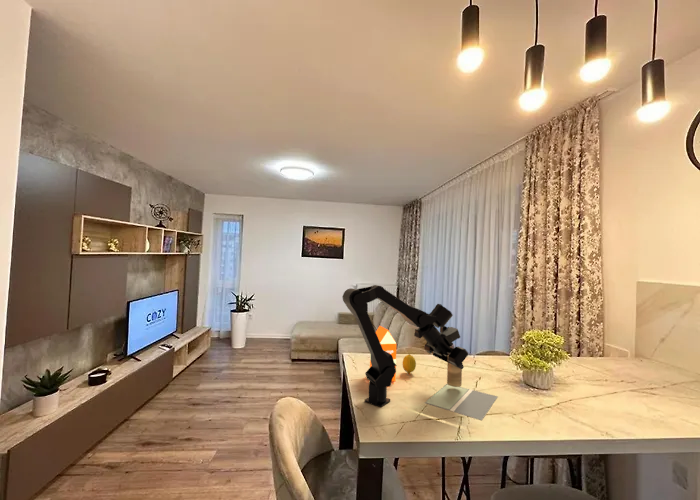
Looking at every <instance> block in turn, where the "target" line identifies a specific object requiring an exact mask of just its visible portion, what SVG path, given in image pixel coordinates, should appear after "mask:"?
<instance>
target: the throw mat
mask: <svg viewBox="0 0 700 500" xmlns="http://www.w3.org/2000/svg"><path fill="white" fill-rule="evenodd" d="M498 398H499V396H497V395H494V394H490V393H485V392H481V391H478V390H474V389H470V388H467V387H466V388H465V387H462V386H460V387H453V386H450V385H448V384H447V383H446V384H445V385H443V387H441V388H440V389H439V390H438V391H436V393H434V394H433V395H432V396H430V398H428V399H427V400H426V401H424V404H426V405H429V406H432V407H433V406H434V407H436V408H439V409H444V410H446V411H449V412H453V413H456V414H458V415H459V414H460V415H463V416H466V417H469V418H471V419H472V418H473V419H475V420H479V421H483V419H484V418H485V416H486V415H487V414H488V412H489V411H490V409H491V407H492V406H493V405H494V403H495V402H496V400H497V399H498Z"/></svg>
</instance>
